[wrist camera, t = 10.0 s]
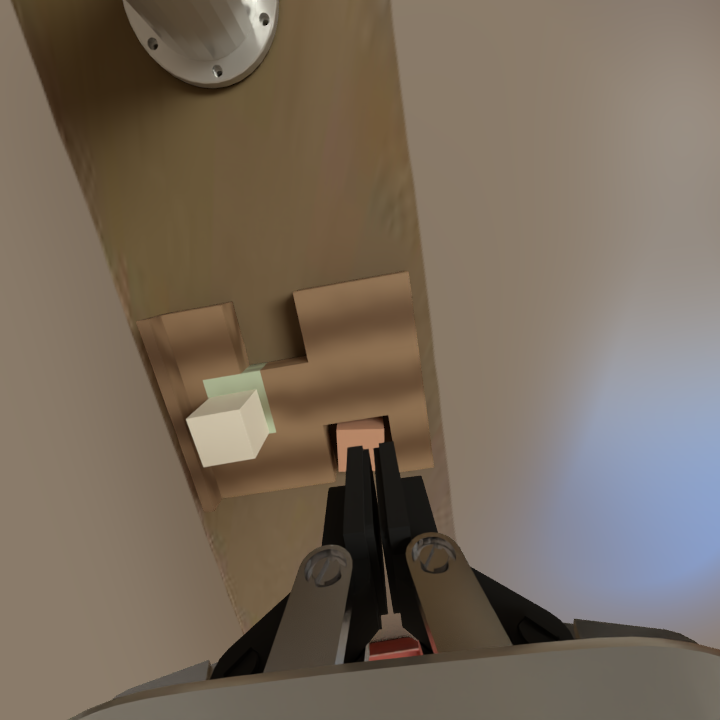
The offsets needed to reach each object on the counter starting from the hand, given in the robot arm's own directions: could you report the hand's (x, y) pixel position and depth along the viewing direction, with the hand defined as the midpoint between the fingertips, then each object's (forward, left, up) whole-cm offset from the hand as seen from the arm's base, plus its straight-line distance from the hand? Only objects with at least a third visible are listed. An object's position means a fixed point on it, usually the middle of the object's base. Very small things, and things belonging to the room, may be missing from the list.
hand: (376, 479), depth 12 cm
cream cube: (+6, -14, -22) cm, 27 cm away
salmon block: (+12, -3, -25) cm, 28 cm away
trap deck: (+5, -7, -25) cm, 27 cm away
